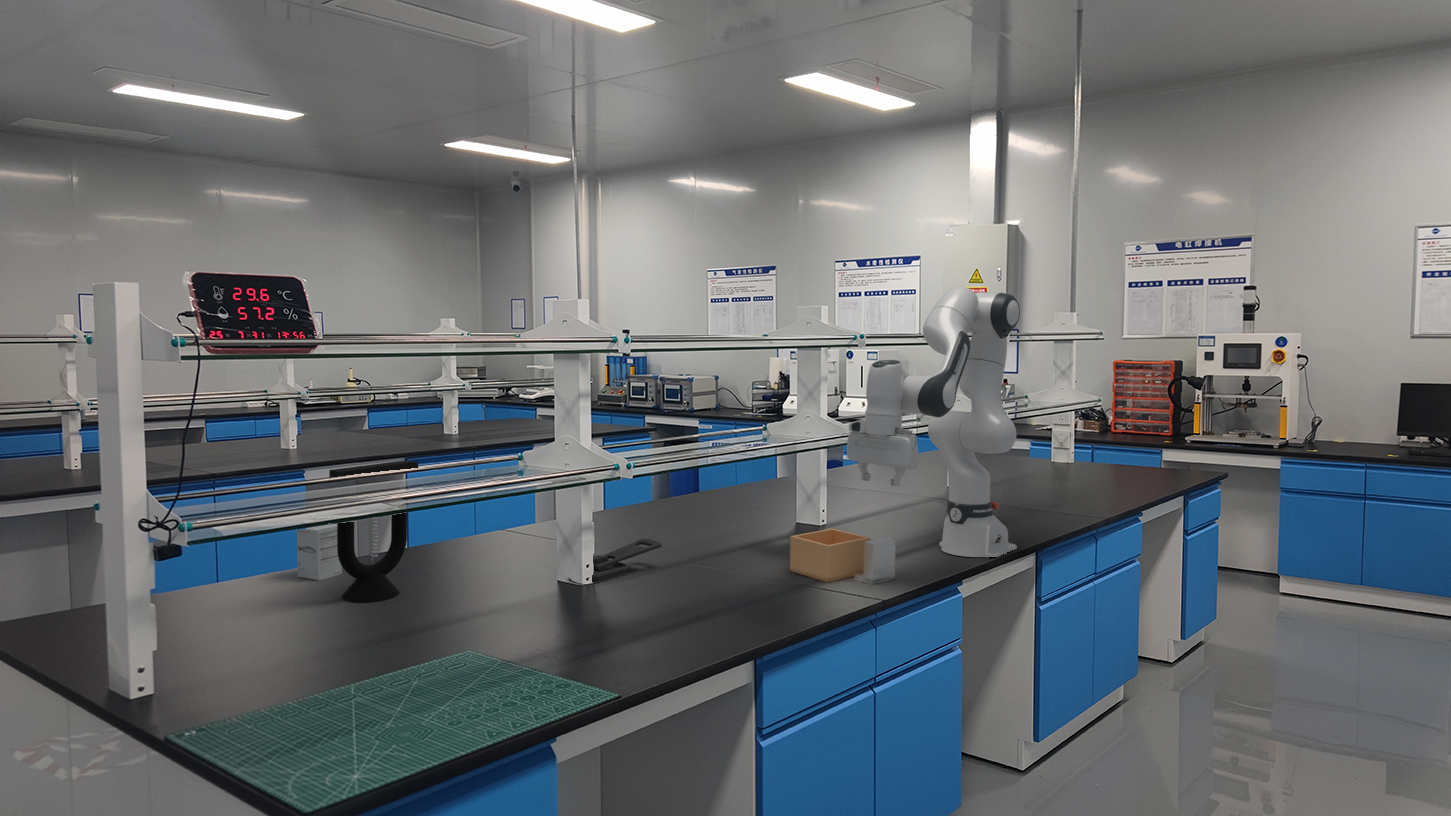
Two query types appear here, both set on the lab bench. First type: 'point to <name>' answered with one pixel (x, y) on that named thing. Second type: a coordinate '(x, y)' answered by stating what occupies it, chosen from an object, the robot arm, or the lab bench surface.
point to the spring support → (371, 577)
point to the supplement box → (318, 552)
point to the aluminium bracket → (878, 561)
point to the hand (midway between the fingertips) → (880, 483)
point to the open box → (827, 554)
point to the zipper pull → (613, 568)
